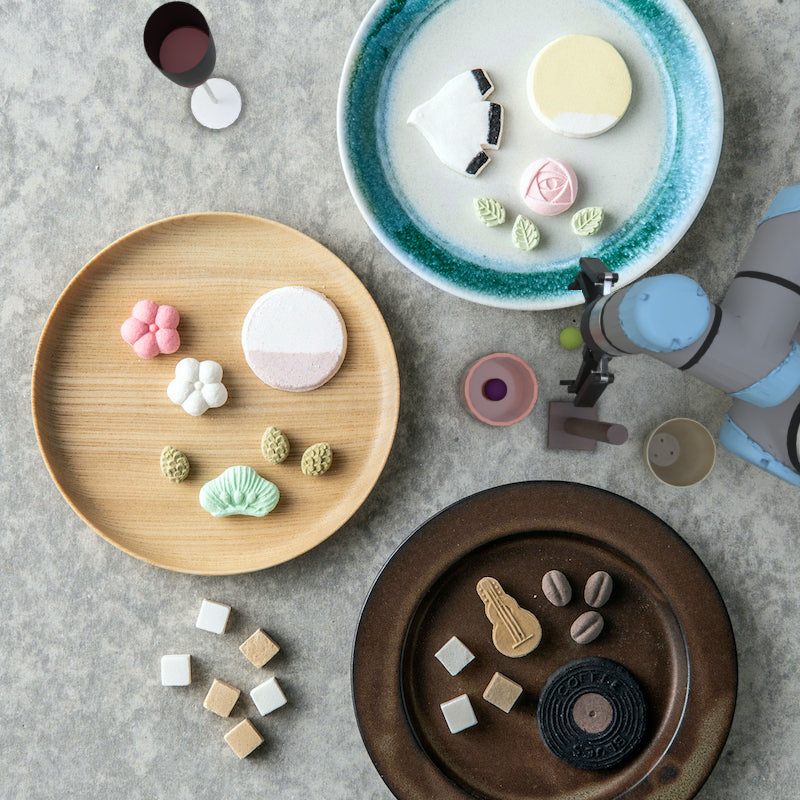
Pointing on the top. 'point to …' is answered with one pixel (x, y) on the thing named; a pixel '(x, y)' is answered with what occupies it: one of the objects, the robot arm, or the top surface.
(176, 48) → the wineglass
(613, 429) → the stand
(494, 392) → the purple grape
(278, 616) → the top surface
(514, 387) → the pink bowl
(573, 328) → the green grape
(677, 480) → the flower pot
